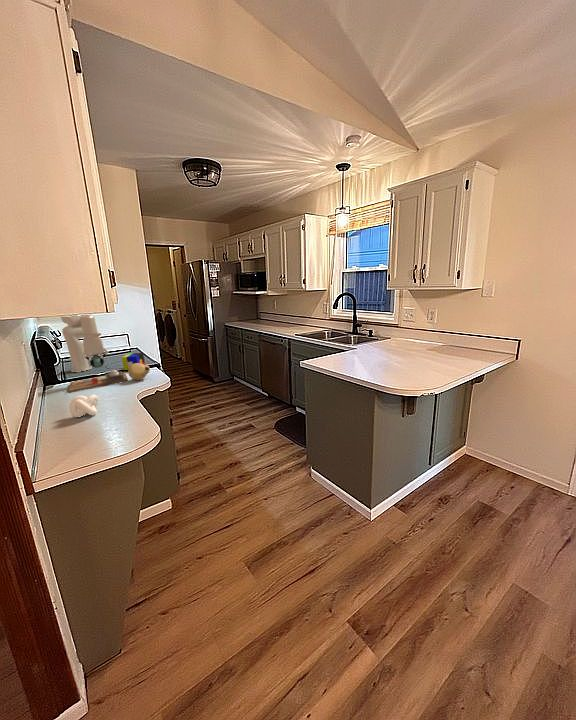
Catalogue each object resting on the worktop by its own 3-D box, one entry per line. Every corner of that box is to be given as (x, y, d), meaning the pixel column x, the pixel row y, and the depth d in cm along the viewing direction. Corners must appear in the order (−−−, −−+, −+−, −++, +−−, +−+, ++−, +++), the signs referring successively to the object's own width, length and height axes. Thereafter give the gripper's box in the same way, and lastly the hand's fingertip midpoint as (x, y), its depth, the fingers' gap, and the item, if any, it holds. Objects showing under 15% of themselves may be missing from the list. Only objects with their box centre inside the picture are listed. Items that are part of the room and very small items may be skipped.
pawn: (94, 366, 196) (91, 354, 194) (102, 365, 198) (99, 353, 196) (94, 368, 193) (91, 356, 191) (102, 366, 195) (99, 354, 193)
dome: (109, 376, 195) (107, 369, 194) (119, 374, 198) (117, 367, 197) (109, 378, 191) (108, 371, 190) (120, 376, 193) (118, 369, 192)
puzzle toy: (138, 370, 216) (136, 356, 213) (124, 371, 216) (121, 357, 213) (145, 366, 225) (143, 352, 223) (131, 367, 226) (129, 353, 223)
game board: (71, 384, 195) (69, 377, 194) (125, 374, 210) (123, 367, 208) (69, 392, 180) (67, 385, 179) (128, 381, 195) (126, 374, 194)
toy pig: (152, 379, 195) (149, 363, 192) (130, 383, 190) (127, 366, 187) (150, 375, 203) (147, 359, 200) (129, 379, 198) (126, 363, 195)
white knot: (66, 422, 143) (61, 403, 140) (77, 411, 154) (73, 394, 151) (93, 418, 144) (89, 400, 142) (103, 408, 156) (99, 391, 153)
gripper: (106, 333, 198) (113, 361, 203) (74, 337, 190) (82, 367, 195) (107, 335, 192) (113, 364, 196) (74, 339, 183) (81, 369, 188)
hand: (97, 365), depth 195 cm, fingers closed on pawn, 4 cm apart
